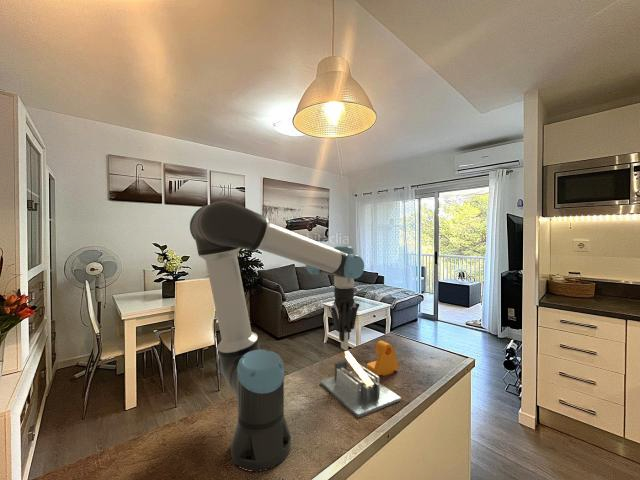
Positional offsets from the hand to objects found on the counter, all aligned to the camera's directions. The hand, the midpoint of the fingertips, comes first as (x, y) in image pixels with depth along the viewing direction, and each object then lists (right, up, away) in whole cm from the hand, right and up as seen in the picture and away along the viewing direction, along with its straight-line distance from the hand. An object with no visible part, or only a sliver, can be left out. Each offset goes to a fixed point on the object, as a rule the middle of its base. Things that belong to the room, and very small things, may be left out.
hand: (344, 348), depth 105 cm
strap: (+4, -5, -7) cm, 9 cm away
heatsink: (+4, -12, -8) cm, 15 cm away
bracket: (+16, -12, +8) cm, 22 cm away
